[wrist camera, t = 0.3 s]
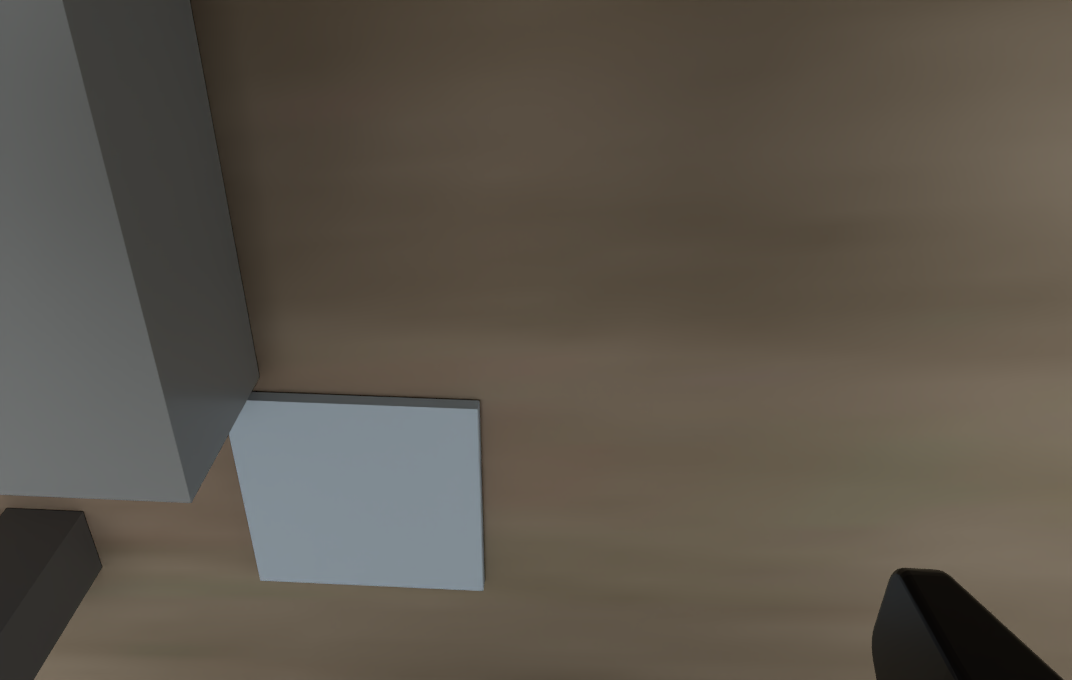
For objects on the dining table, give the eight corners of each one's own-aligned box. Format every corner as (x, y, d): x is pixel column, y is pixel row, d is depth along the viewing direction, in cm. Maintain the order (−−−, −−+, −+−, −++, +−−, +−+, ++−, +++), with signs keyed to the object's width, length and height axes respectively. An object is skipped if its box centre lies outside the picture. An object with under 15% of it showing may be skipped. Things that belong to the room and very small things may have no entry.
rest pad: (484, 581, 29) (483, 590, 28) (264, 571, 29) (260, 580, 28) (479, 400, 25) (478, 409, 24) (226, 390, 25) (221, 399, 25)
